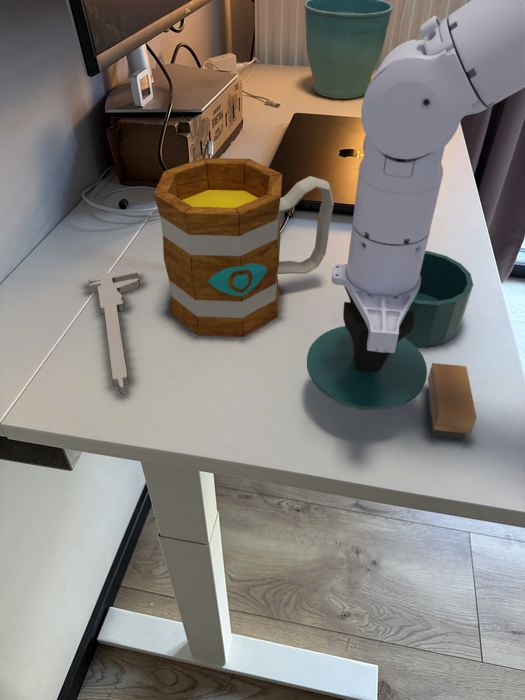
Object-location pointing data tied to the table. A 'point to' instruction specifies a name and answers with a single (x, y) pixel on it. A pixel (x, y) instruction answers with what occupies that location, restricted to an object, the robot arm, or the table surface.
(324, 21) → the flower pot
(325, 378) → the pot lid
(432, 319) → the pot
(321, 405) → the table surface
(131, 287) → the caliper
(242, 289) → the mug
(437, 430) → the tall bronze cuboid
